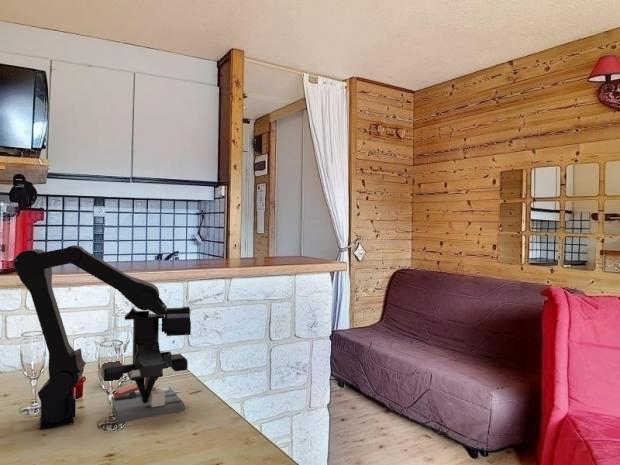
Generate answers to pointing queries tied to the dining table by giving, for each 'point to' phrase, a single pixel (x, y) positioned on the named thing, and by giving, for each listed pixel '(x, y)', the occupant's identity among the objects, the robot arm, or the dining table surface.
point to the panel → (145, 406)
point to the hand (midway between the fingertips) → (144, 402)
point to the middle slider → (152, 390)
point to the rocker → (126, 390)
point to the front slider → (157, 398)
